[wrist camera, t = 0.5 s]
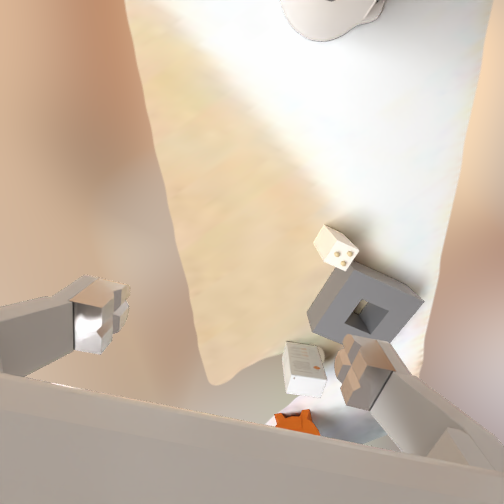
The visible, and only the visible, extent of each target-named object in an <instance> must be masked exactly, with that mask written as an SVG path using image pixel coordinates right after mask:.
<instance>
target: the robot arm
mask: <svg viewBox="0 0 504 504" xmlns="http://www.w3.org/2000/svg"><path fill="white" fill-rule="evenodd" d="M376 1H377V0H280V3H281V7H282V10H283V12H284V15H285V17H286V19H287V20H288V22H289V24H290V25H291V26H292V27H293V28H294V30H295V31H297V32H298V33H299V34H300V35H302V36H304V37H306V38H308V39H311V40H315V41H328V40H333V39H335V38H338V37H340V36H342V35H344V34H345V33H347V32H348V31H349V30H351V29H352V28H354V27H355V26H357V25H360V24H365V23H369V22H372V21H374V20H376V19H377V18H378V16H379V15H380V13H381V11H382V8H383V5H384V2H385V0H378V3H375V2H376ZM129 296H130V286H129V285H128V284H123V283H119V282H115V281H111V280H107V279H103V278H99V277H94V276H90V275H83V276H81V277H80V278H78V279H77V280H75V281H74V282H73V283H71V284H70V285H68V286H67V287H65V288H64V289H62V290H61V291H59V292H58V293H56V294H55V295H53V296H52V297H47V296H45V297H40V298H36V299H32V300H27V301H23V302H19V303H15V304H10V305H6V306H2V307H0V504H504V446H503V445H502V443H501V442H500V441H499V440H498V439H497V437H496V436H495V435H493V434H492V433H491V432H489V431H488V430H487V429H485V428H484V427H483V426H481V425H480V424H478V423H477V422H476V421H475V420H473V419H472V418H471V417H469V416H468V415H467V414H465V413H464V412H463V411H461V410H460V409H459V408H458V407H456V406H455V405H453V404H452V403H451V402H450V401H448V400H447V399H446V398H444V397H443V396H441V395H440V394H439V393H438V392H436V391H435V390H434V389H432V388H431V387H430V386H428V385H427V384H426V383H424V382H423V381H422V380H420V379H419V378H418V377H416V376H412V374H411V373H410V372H409V370H408V369H407V367H406V366H405V364H404V363H403V361H402V360H401V358H400V357H399V356H398V354H397V353H396V351H395V350H394V348H393V347H392V345H391V344H390V343H388V342H387V341H382V340H377V339H370V338H365V337H361V336H356V335H351V334H347V335H346V336H345V337H344V340H343V342H342V343H343V346H344V348H343V349H341V350H340V351H338V353H337V355H336V358H335V363H334V369H335V374H336V377H337V379H338V380H339V381H340V382H341V383H342V386H341V388H340V389H341V392H342V395H343V398H344V401H345V404H346V405H347V406H351V407H355V408H359V409H363V410H368V411H370V413H371V414H372V416H373V417H374V418H375V419H376V421H377V422H378V423H379V424H380V425H381V427H382V428H383V429H384V430H385V432H386V433H387V434H388V435H389V436H390V438H391V439H392V440H393V441H394V443H395V444H396V445H397V446H398V447H399V448H400V450H401V451H402V452H398V451H393V450H388V449H383V448H378V447H373V446H368V445H363V444H358V443H353V442H348V441H343V440H338V439H333V438H328V437H323V436H318V435H313V434H308V433H303V432H298V431H293V430H288V429H283V428H278V427H273V426H268V425H263V424H258V423H253V422H248V421H243V420H238V419H233V418H227V417H223V416H217V415H213V414H208V413H203V412H197V411H192V410H187V409H182V408H177V407H172V406H167V405H162V404H157V403H152V402H147V401H142V400H136V399H132V398H127V397H122V396H117V395H112V394H106V393H101V392H97V391H92V390H87V389H82V388H77V387H72V386H67V385H62V384H57V383H51V382H46V381H41V380H36V379H31V378H26V377H25V376H27V375H28V374H31V373H33V372H34V371H36V370H38V369H40V368H42V367H44V366H46V365H48V364H50V363H52V362H54V361H56V360H58V359H59V358H61V357H63V356H65V355H67V354H69V353H71V352H72V351H73V350H77V351H83V352H89V353H94V354H101V353H102V352H103V351H104V350H105V349H106V347H107V346H108V345H109V344H110V342H111V341H112V334H115V333H117V332H119V331H120V330H121V329H122V327H123V326H124V324H125V322H126V320H127V317H128V312H129V305H128V303H127V302H126V299H127V298H128V297H129Z"/></svg>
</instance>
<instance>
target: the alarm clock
mask: <svg viewBox="0 0 504 504" xmlns="http://www.w3.org/2000/svg"><path fill="white" fill-rule="evenodd" d="M274 415H275V418H276V422H277V425H276V426H275V427H278V428H283V429H288V430H293V431H298V432H303V433H308V434H313V435H318V436H320V433H319V430H318V429H317V428H316V426H315V425H314V424H313V423H312V418H311V414H310V410H309V409H308V410H302V412H301V414H300V416H291V417H288V418H284V416H283V415H282V413H279V414H274Z"/></svg>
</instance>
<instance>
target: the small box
mask: <svg viewBox="0 0 504 504" xmlns="http://www.w3.org/2000/svg"><path fill="white" fill-rule="evenodd" d="M282 363H283V372H284V380H285V388H286V393H288V394H295V395H302V396H309V397H316V398H321V395H322V393H323V390H324V387H325V385H326V382H327V377H326V374H325V371H324V367H323V364H322V361H321V358H320V354H319V351H318V348H317V346H314V345H307V344H301V343H294V342H286V345H285V348H284V352H283V356H282Z"/></svg>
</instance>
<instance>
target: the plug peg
mask: <svg viewBox="0 0 504 504" xmlns="http://www.w3.org/2000/svg"><path fill="white" fill-rule="evenodd" d="M313 244H314V245H315V247H316V249H317V251H318V252H319V254H320V256H321V258H322V259H323V261H324V262H326V263H328V264H330V265H332V266H335V267H337V268H339V269H341V270H343V271H346V270H347V269H348V267H349V265H350V264H351V262H352V261H353V259H354V258H355V256H356V255H357V253H358V252H359V249H358V248H357V247H356V246H355V245H354V244H353V243H352V242H351V241H350V240H349V239H348V238H347V237H346V236H345V235H344V234H343V233H341V232H339V231H336V230H334V229H332V228H330V227H328V226H326V225H323V227H322V228H321V230H320V232H319V233H318V235H317V237H316V239H315V240H314V242H313Z"/></svg>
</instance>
